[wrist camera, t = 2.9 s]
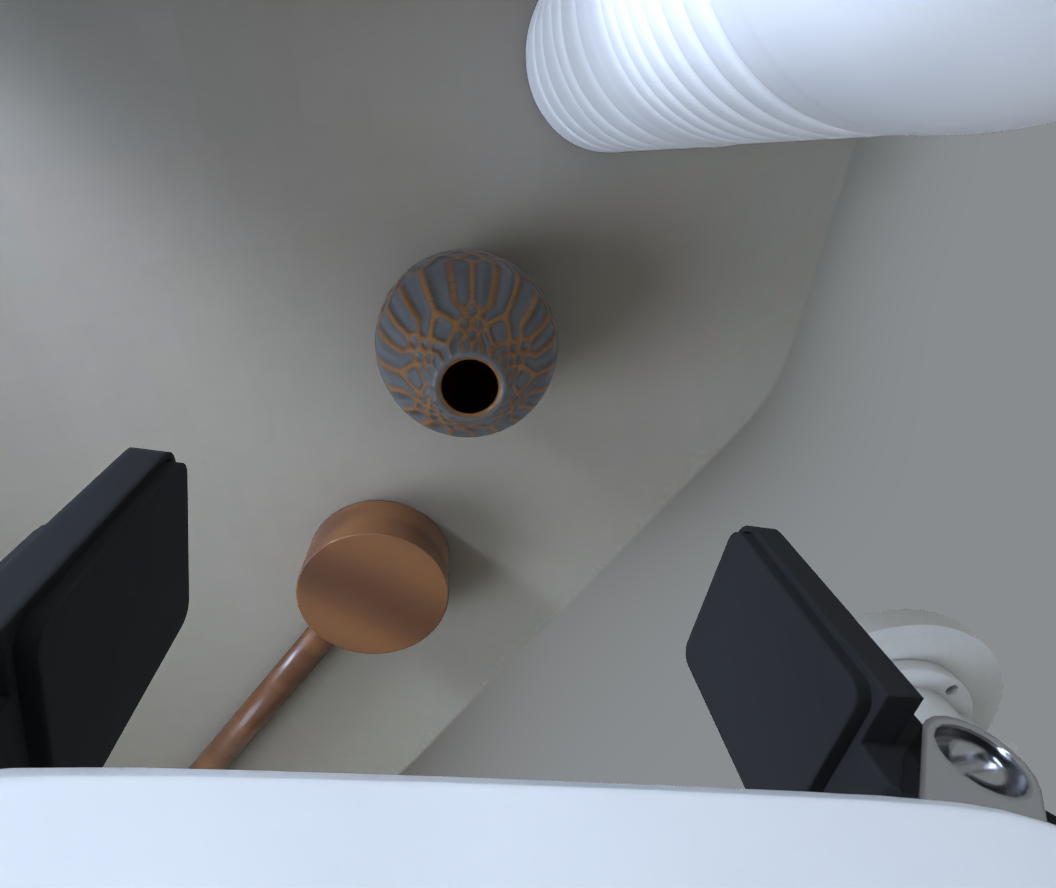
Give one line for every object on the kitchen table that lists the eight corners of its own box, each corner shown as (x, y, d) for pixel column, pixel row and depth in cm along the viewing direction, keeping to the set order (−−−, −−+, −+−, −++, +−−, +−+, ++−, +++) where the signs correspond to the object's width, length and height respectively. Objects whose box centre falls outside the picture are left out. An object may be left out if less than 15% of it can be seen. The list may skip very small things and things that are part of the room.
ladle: (361, 474, 30) (351, 506, 27) (476, 546, 32) (478, 582, 29) (122, 772, 36) (95, 822, 33) (233, 814, 38) (217, 864, 36)
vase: (574, 297, 27) (623, 353, 19) (491, 421, 29) (503, 519, 21) (437, 205, 25) (428, 226, 17) (357, 346, 27) (316, 423, 19)
